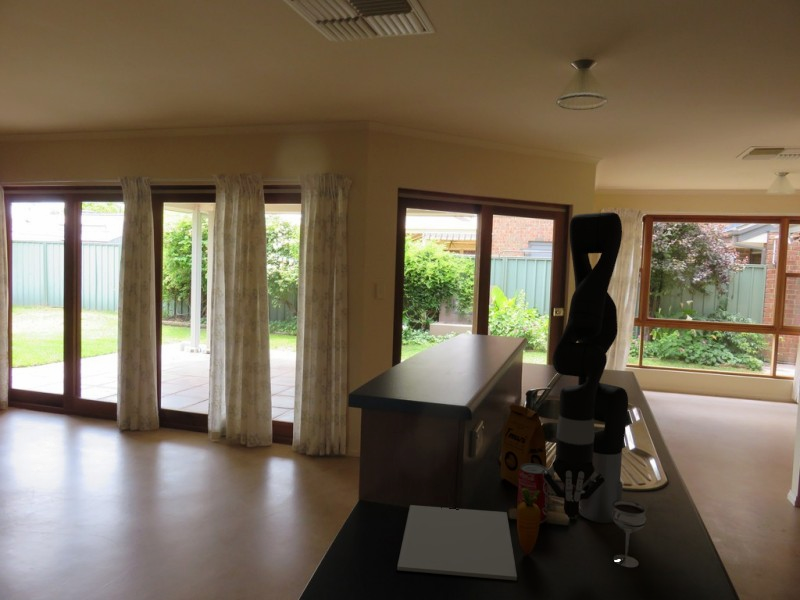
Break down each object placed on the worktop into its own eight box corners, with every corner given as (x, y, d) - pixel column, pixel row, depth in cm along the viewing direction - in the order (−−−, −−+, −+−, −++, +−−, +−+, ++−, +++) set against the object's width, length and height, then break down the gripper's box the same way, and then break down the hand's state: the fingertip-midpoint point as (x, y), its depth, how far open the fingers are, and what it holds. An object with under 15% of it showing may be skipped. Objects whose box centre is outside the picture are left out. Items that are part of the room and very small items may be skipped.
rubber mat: (506, 515, 142) (506, 512, 141) (516, 580, 114) (516, 576, 114) (410, 508, 144) (410, 505, 144) (397, 570, 116) (397, 566, 116)
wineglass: (604, 551, 126) (607, 499, 124) (635, 552, 125) (639, 500, 124) (615, 569, 119) (618, 513, 118) (648, 570, 119) (652, 515, 118)
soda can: (547, 527, 136) (550, 475, 134) (516, 524, 137) (518, 471, 136) (545, 514, 143) (548, 464, 141) (516, 510, 144) (518, 461, 143)
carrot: (539, 551, 125) (542, 485, 124) (537, 563, 120) (540, 494, 119) (516, 547, 127) (519, 481, 125) (513, 558, 122) (516, 490, 120)
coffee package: (521, 495, 153) (525, 415, 151) (495, 478, 164) (498, 403, 162) (551, 490, 157) (555, 412, 155) (523, 473, 168) (527, 400, 166)
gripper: (603, 433, 123) (598, 510, 125) (540, 429, 124) (536, 505, 126) (612, 444, 115) (607, 527, 117) (545, 440, 117) (541, 522, 119)
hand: (570, 515), depth 122 cm, fingers closed
